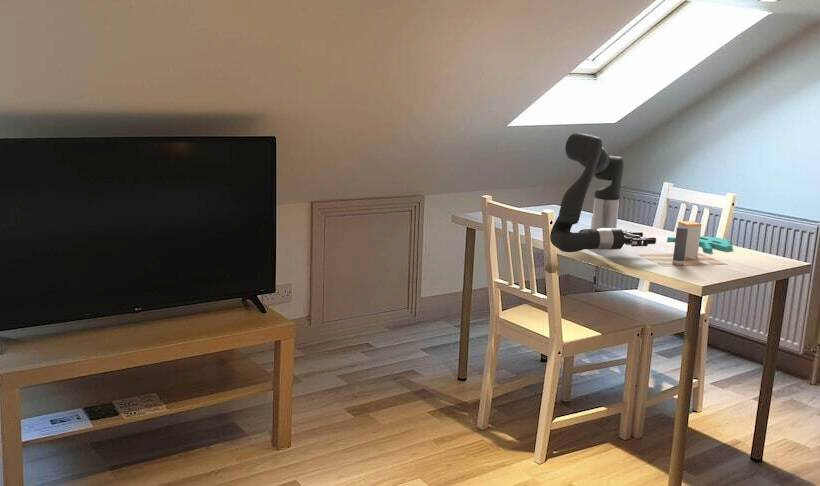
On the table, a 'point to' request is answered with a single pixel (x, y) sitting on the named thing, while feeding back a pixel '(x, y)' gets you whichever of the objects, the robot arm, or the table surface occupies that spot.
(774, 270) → the table surface
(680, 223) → the white orange-topped block
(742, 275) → the table surface
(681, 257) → the dark grey tall block
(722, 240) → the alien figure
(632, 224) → the table surface
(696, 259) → the subfloor panel
